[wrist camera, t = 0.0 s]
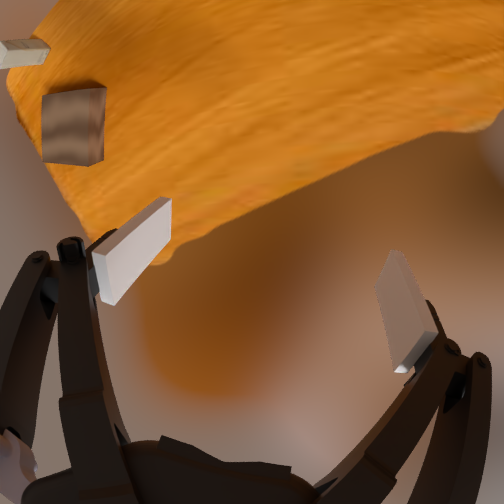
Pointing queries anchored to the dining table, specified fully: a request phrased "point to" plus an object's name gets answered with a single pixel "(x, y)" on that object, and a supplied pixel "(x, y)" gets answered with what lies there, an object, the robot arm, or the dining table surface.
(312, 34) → the dining table surface
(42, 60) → the skincare box
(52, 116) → the plate
